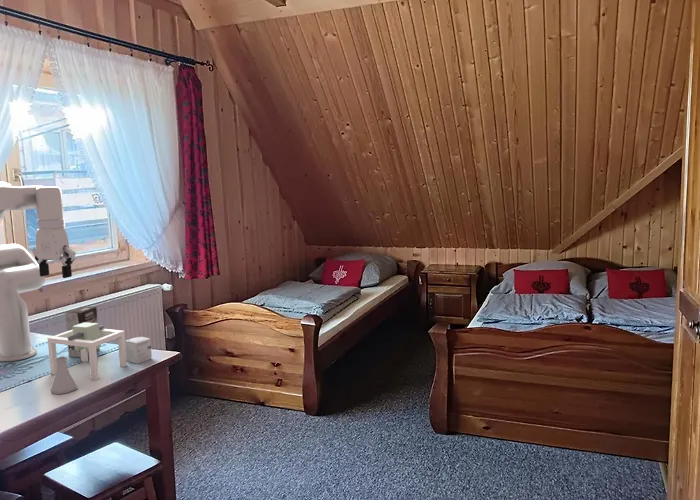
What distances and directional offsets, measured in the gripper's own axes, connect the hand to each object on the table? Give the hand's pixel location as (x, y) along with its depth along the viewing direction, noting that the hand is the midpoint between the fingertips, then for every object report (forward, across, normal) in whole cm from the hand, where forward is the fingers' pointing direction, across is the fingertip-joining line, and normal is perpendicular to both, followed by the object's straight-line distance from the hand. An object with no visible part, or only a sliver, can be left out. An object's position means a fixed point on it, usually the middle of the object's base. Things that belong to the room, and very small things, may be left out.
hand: (55, 276), depth 185 cm
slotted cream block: (+23, +12, -1) cm, 26 cm away
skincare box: (+31, +21, +12) cm, 39 cm away
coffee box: (+31, -3, +12) cm, 33 cm away
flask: (+31, +18, -17) cm, 39 cm away
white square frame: (+30, +12, -1) cm, 33 cm away
